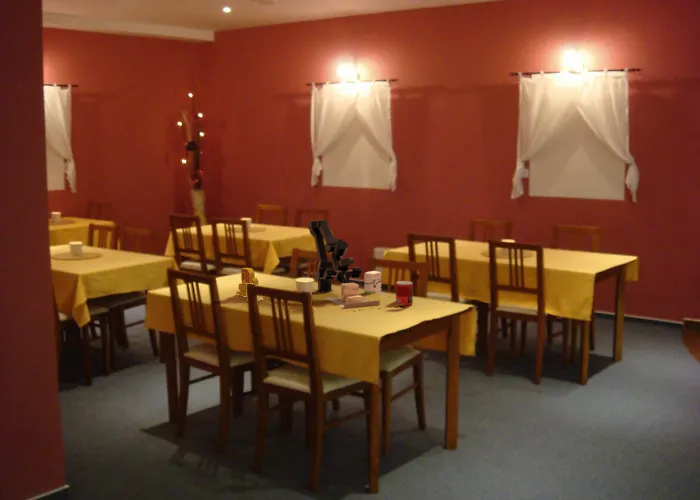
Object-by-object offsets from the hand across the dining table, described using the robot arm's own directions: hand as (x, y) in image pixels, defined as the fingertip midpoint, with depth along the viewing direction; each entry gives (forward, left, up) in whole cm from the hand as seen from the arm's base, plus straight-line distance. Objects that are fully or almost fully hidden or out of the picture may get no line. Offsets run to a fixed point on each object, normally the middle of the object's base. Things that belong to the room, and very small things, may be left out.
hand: (347, 287), depth 367 cm
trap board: (+1, -1, -7) cm, 8 cm away
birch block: (+5, -3, -6) cm, 8 cm away
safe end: (+12, -7, -7) cm, 15 cm away
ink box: (-1, +22, -8) cm, 24 cm away
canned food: (+25, +11, -8) cm, 29 cm away
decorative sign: (-47, -20, -8) cm, 51 cm away
